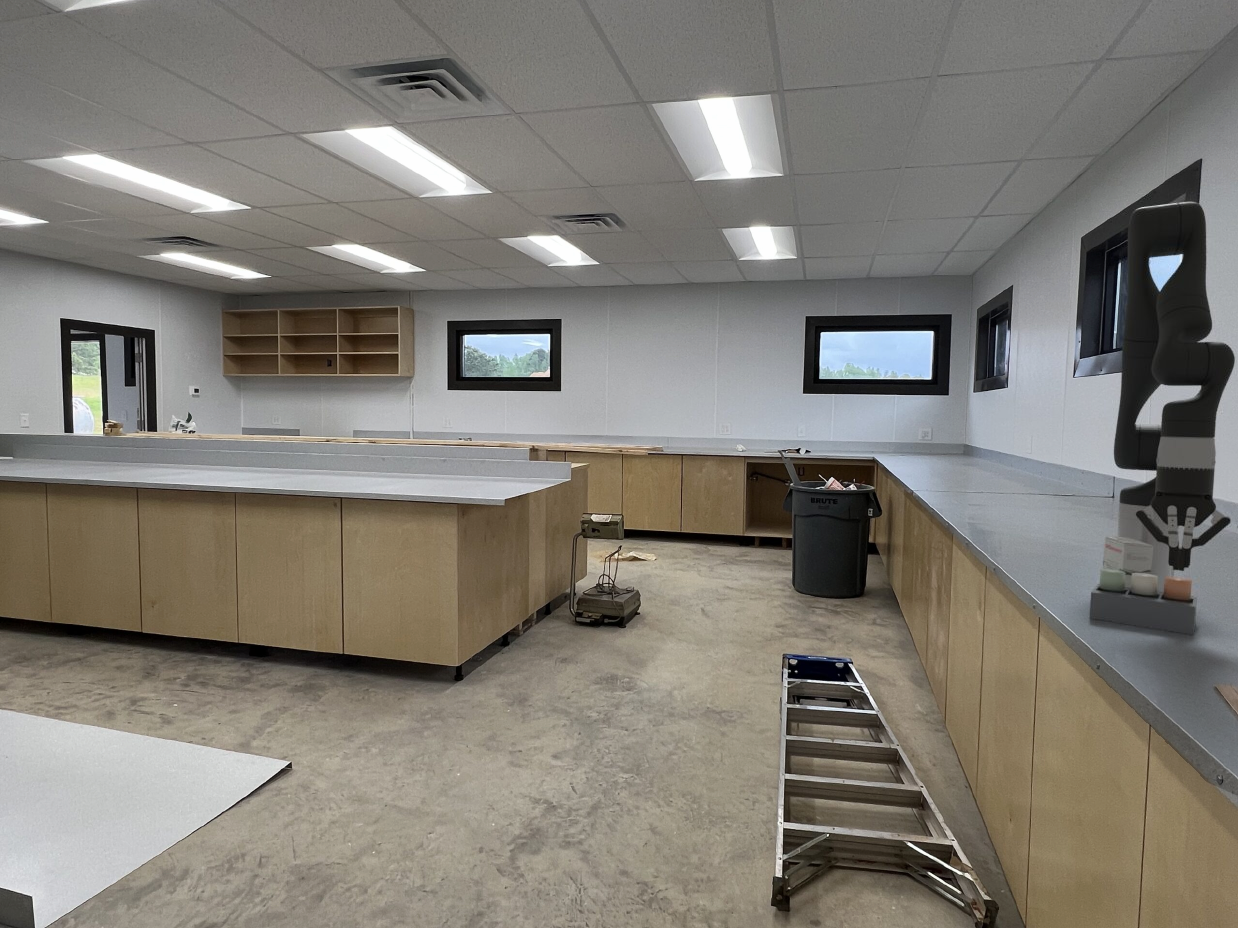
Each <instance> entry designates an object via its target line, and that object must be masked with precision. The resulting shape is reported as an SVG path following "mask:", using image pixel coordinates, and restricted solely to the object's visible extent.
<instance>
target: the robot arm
mask: <svg viewBox="0 0 1238 928" xmlns="http://www.w3.org/2000/svg"><path fill="white" fill-rule="evenodd" d="M1206 222H1207V221H1206V215H1205V212H1204V209H1203V206H1202V205H1201V204H1200V203H1199V202H1195V201H1183V202H1181V201H1180V202H1175V203H1168V204H1167V203H1166V204H1159V205H1152V206H1151V205H1150V206H1144V207H1139V208H1136V209H1135V210H1134V211H1133V212H1132V214H1131V216H1130V219H1129V223H1128V230H1127V295H1126V297H1127V298H1126V309H1125V317H1124V327H1123V335H1122V336H1123V337H1122V350H1121V351H1122V353H1121V381H1120V383H1121V384H1120V385H1121V386H1120V397H1119V405H1118V406H1119V407H1118V414H1117V422H1116V426H1115V427H1116V428H1115V433H1114V435H1115V437H1114V443H1113V459H1114V463H1115V465H1116V467H1117V468H1119V469H1121V470H1131V471H1150V472H1154V471H1156V475H1155V477H1154V478H1153V479H1151V480H1148V481H1146V482H1144V483H1141V484H1140V483H1139V484H1138V485H1133V486H1127V487H1124V488H1122V489H1121V490H1120V493H1119V500H1118V501H1119V502H1118V503H1119V504H1118V507H1119V508H1118V518H1117V519H1118V520H1117V522H1118V523H1117V524H1118V525H1117V536H1116V537H1124V538H1132V539H1135V540H1137V541H1140V542H1143V543H1146V544H1149V545H1152V546H1153V556H1152V566H1151V575H1156V576H1158V582H1157V591H1158V592H1164V579H1165V577H1175V571H1181V572H1185V569H1186V568H1187V569H1189V568H1190V566H1191V555H1192V549H1193V548H1197V547H1203V546H1205V545H1206V544H1207V543H1209V541H1211V540H1212V539H1213V538H1214V537H1216V536H1217V535H1218V534H1219V533H1220V532H1222V531H1223V530H1224V529H1226V528H1227V526H1229V525H1230V524H1231V520H1232V519H1231V518H1230V516H1228V515H1227V516H1226V515H1225V514H1223V513H1221V512H1220V511H1219V510H1218V509H1217V505H1216V503H1215V500H1214V499H1213V496H1214V483H1215V470H1216V469H1215V468H1216V463H1217V462H1216V457H1217V455H1216V454H1217V452H1216V443H1215V442H1216V439H1215V437H1216V424H1217V422H1216V421H1217V414H1218V413H1217V412H1218V409H1219V406H1220V402H1221V399H1222V396H1223V393H1224V392H1225V389H1226V386H1227V383H1228V382H1229V379H1230V378H1231V376H1232V372H1233V371H1234V370H1233V369H1234V367H1235V363H1236V357H1235V353H1234V351H1233V350H1232V347H1230V346H1229V345H1228V344H1227V343H1224V342H1222V341H1203V340H1204V339H1206V338H1207V337H1208V336H1210V335H1211V334H1210V333H1211V332H1212V329H1213V320H1212V314H1211V309H1210V305H1209V304H1210V303H1209V299H1208V293H1207V280H1206V279H1207V224H1206ZM1180 255H1183V257H1182V259H1181V262H1180V264H1179V265H1178V267H1177V268H1176V269H1175V271H1173V273H1172V274H1171V276H1170V277H1169V278H1168V279H1167V280H1166V282H1165V284H1163V286H1162V288H1161V289H1160V290H1159V288H1158V286H1157V284H1156V282H1155V281H1154V278H1153V276H1152V273H1151V267H1150V259H1151V258H1152V259H1153V258H1160V257H1169V256H1180ZM1161 385H1163V386H1169V387H1171V386H1172V387H1175V386H1176V387H1184V386H1186V387H1191V386H1192V387H1194V386H1197V387H1198V386H1200V390H1199V391H1198V393H1197V394H1196V395H1194V396H1192V397H1191V398H1186V399H1180V400H1174V401H1169V402H1167V403H1166V404H1164V405H1163V407H1162V411H1161V412H1162V413H1161V423H1160V424H1136V423H1137V419H1138V418H1139V415H1140V413H1141V411H1142V409H1143V407H1144V406H1145V404H1146V403H1147V402H1148V400H1149V399H1150V397H1151V396H1152V395H1153V394H1154V393H1155V391H1156V390H1157V389H1158V388H1159V387H1160V386H1161ZM1210 516H1212V518H1211V519H1210V523H1211V526H1210V527H1209V528H1207V529H1206V530H1205V531H1204V532H1203V533H1202V534H1201V535H1199V536H1198V537H1194V533H1195V532H1194V531H1195V528H1196V527H1200V526H1201V525H1202V524H1203V523H1204V522H1205V521H1206V520H1207V519H1208V518H1209V517H1210ZM1179 527H1183V533H1182V541H1181V546H1180V540H1179V534H1180V532H1179V531H1180V529H1179Z"/></svg>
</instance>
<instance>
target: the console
mask: <svg viewBox="0 0 1238 928" xmlns="http://www.w3.org/2000/svg"><path fill="white" fill-rule="evenodd" d="M1099 585H1100V583H1098V584H1096V586H1094V588H1093V589H1092V591H1091V592H1090V607H1089V608H1090V609H1089V619H1091V620H1098V621H1106V622H1110V621H1111V623H1117V624H1123V625H1131V626H1135V627H1136V626H1137V627H1142V628H1149V629H1156V630H1162V631H1168V632H1175V633H1181V634H1187V635H1194V632H1195V627H1196V621H1197V620H1196V618H1197V617H1196V616H1197V603H1198V601H1197V600H1198V597H1197V596H1195V595H1191V599H1190V600H1179V599H1172V598H1168V597H1165V596H1163V594H1164V592H1158V591H1157V595H1142V594H1137V593H1133V592H1131V588H1127V587H1125V588H1124V591H1113V590H1106V589H1102V588H1100V587H1099Z"/></svg>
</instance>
